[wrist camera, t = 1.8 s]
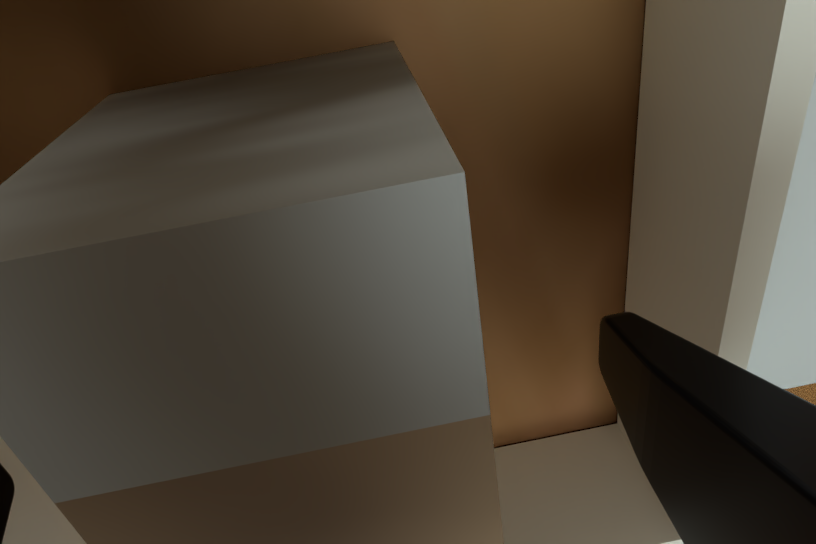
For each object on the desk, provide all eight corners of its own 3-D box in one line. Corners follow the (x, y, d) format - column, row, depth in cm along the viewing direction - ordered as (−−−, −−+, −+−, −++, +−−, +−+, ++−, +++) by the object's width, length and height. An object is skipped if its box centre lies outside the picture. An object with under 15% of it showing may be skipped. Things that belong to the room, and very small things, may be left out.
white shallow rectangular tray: (742, -658, 6) (1099, -1147, 3) (628, 516, 18) (685, 631, 15) (-634, -429, 6) (-1540, -754, 3) (163, 613, 18) (131, 748, 15)
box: (393, 41, 10) (464, 172, 5) (450, 403, 15) (516, 657, 10) (108, 95, 10) (-122, 286, 5) (261, 442, 15) (227, 717, 10)
